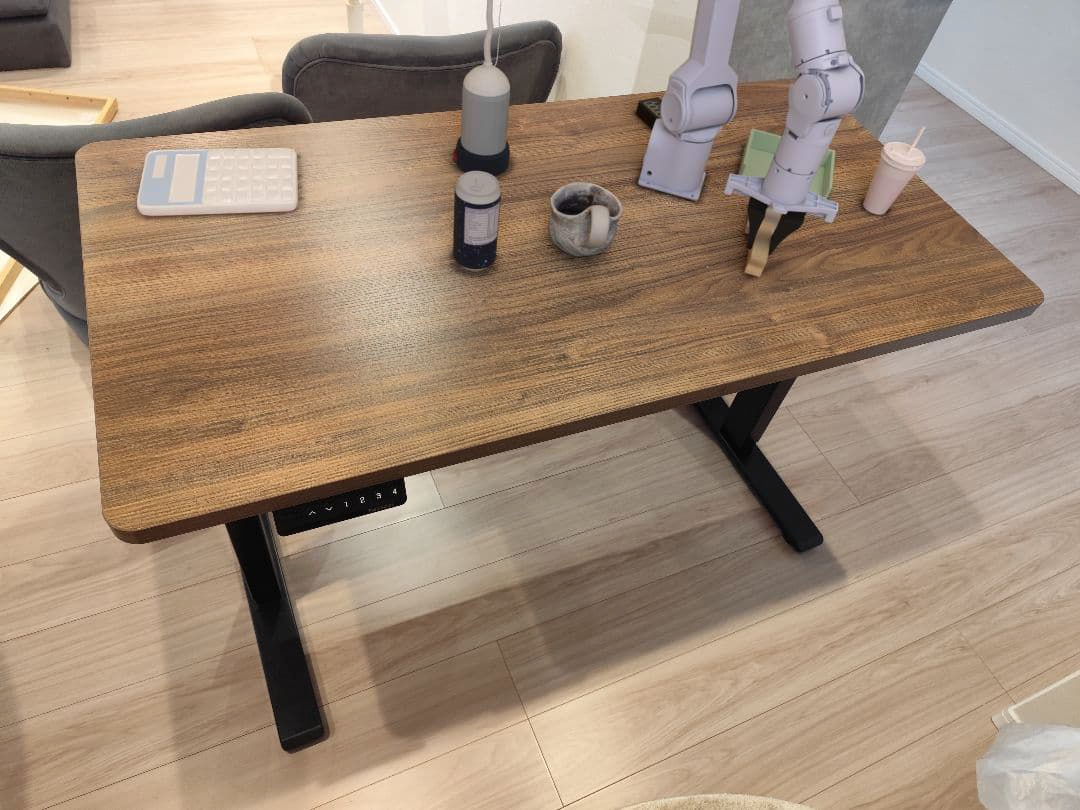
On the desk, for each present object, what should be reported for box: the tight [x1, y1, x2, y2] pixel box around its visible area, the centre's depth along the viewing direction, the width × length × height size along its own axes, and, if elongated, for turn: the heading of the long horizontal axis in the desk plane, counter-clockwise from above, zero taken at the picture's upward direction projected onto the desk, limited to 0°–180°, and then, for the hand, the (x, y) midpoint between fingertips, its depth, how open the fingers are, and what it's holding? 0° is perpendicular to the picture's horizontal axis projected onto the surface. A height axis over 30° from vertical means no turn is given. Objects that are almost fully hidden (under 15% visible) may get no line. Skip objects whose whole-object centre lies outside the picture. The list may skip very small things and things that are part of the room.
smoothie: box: [862, 125, 927, 216], centre depth 111 cm, size 6×6×14 cm
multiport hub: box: [635, 96, 662, 131], centre depth 123 cm, size 4×11×2 cm, turn 28°
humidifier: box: [452, 0, 511, 177], centre depth 102 cm, size 8×8×25 cm
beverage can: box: [452, 171, 502, 272], centre depth 93 cm, size 6×6×12 cm
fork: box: [744, 205, 782, 278], centre depth 105 cm, size 17×4×3 cm, turn 163°
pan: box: [737, 128, 836, 199], centre depth 121 cm, size 20×14×3 cm
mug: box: [547, 181, 624, 257], centre depth 97 cm, size 10×12×10 cm
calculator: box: [136, 147, 299, 217], centre depth 100 cm, size 13×20×2 cm, turn 102°
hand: (758, 247), depth 103 cm, fingers closed on fork, 2 cm apart
